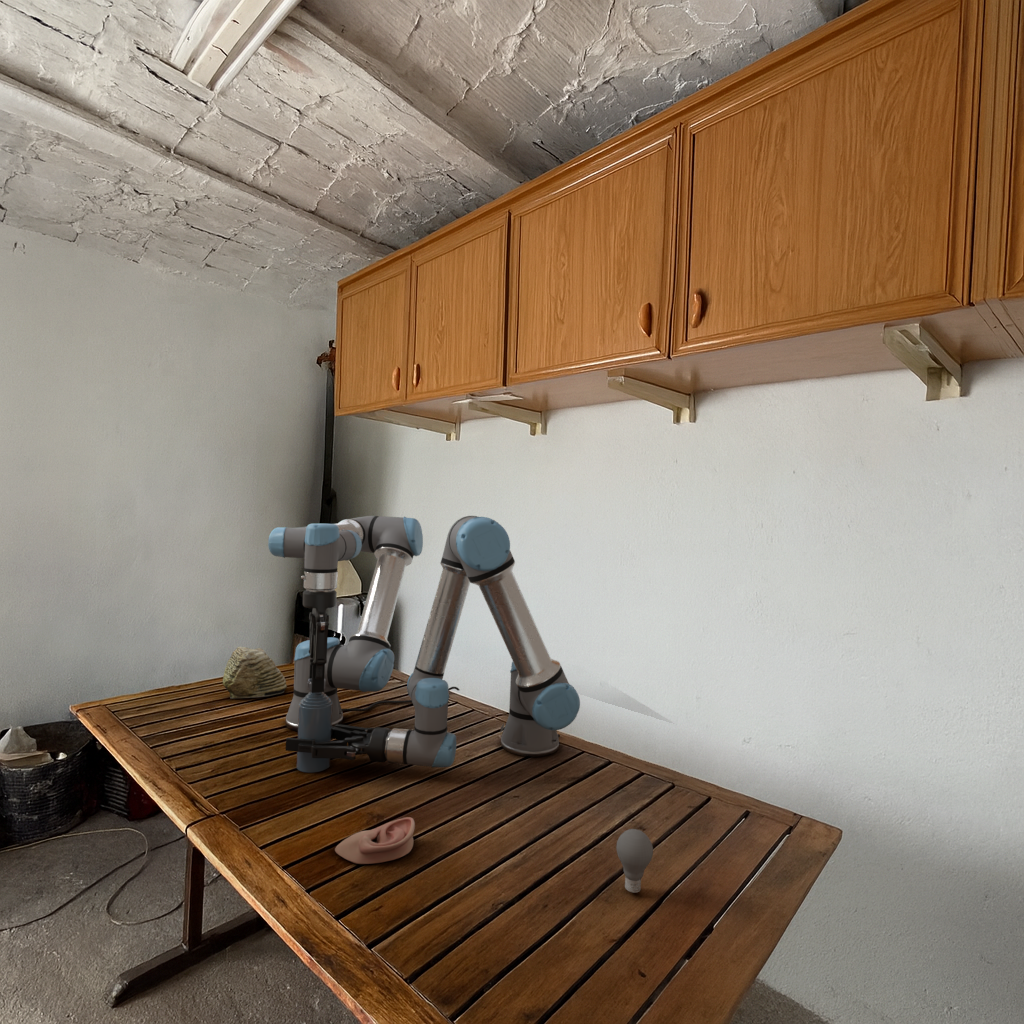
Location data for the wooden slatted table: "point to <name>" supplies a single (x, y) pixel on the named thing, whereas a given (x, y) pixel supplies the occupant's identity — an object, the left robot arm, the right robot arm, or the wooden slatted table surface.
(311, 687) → the cap
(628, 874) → the light bulb
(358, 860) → the anatomical model
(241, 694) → the fossil
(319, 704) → the bottle
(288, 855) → the wooden slatted table surface
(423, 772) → the wooden slatted table surface
